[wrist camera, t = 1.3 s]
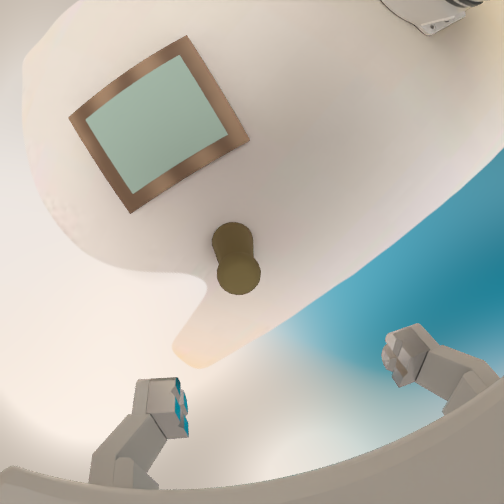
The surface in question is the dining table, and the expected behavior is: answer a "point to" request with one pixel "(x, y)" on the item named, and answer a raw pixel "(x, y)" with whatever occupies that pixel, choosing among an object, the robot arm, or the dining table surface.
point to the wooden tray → (158, 124)
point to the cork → (235, 258)
